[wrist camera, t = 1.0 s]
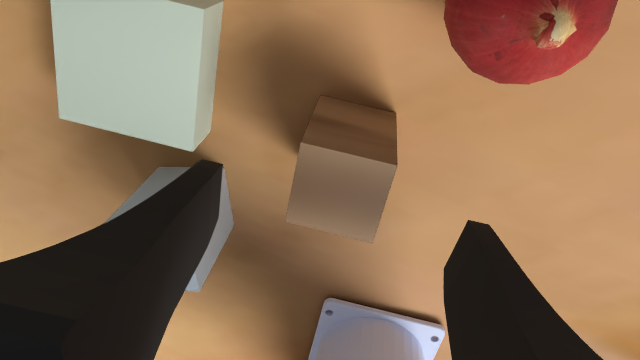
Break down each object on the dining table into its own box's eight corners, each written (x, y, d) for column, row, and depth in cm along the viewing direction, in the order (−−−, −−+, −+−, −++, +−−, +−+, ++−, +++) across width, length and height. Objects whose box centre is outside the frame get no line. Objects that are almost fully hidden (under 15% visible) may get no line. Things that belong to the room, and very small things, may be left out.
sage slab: (212, 129, 26) (192, 151, 24) (92, 98, 26) (59, 118, 24) (225, -1, 23) (204, 9, 20) (87, -35, 23) (47, -30, 20)
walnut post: (376, 179, 26) (372, 243, 21) (306, 162, 26) (284, 221, 21) (396, 113, 24) (397, 165, 19) (320, 94, 24) (300, 142, 19)
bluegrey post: (234, 224, 29) (199, 291, 24) (173, 223, 29) (125, 288, 24) (224, 166, 27) (183, 225, 22) (158, 166, 28) (104, 223, 22)
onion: (421, -52, 20) (437, -40, 13) (564, -109, 19) (667, -129, 12) (453, 73, 23) (481, 140, 16) (583, 33, 21) (677, 87, 14)
